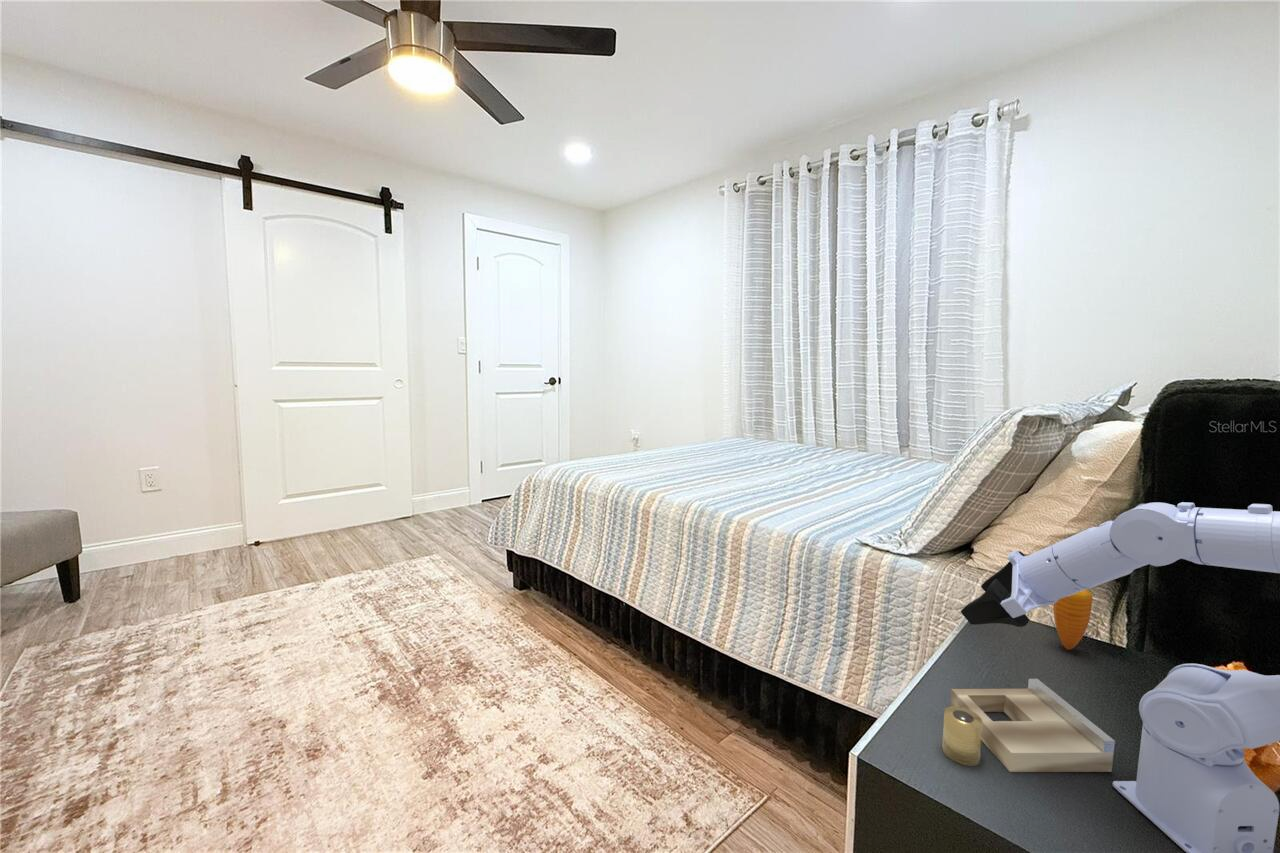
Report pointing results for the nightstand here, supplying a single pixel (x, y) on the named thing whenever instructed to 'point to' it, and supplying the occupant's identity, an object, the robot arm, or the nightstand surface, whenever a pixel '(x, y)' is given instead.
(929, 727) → the nightstand surface
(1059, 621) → the carrot
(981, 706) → the jig
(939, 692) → the nightstand surface
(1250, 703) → the robot arm
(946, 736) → the bushing
